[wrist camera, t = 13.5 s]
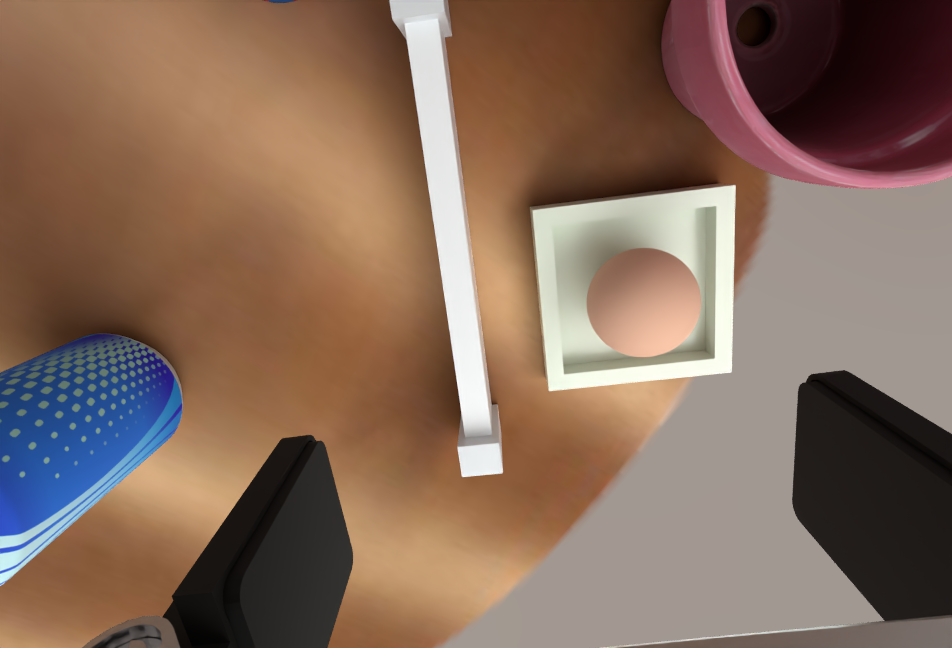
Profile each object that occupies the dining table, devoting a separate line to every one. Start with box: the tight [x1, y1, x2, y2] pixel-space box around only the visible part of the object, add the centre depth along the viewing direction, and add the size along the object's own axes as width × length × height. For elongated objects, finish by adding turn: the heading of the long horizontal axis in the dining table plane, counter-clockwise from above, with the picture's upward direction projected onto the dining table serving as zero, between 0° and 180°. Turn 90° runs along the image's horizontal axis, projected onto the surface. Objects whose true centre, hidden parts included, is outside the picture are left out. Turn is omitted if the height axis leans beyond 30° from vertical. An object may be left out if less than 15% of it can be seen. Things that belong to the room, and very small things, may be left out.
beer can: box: [0, 334, 183, 586], centre depth 28 cm, size 8×8×16 cm
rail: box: [389, 0, 503, 477], centre depth 29 cm, size 26×2×5 cm, turn 7°
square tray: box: [530, 183, 736, 391], centre depth 31 cm, size 11×11×2 cm
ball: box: [587, 248, 701, 357], centre depth 29 cm, size 6×6×6 cm
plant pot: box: [661, 0, 952, 189], centre depth 22 cm, size 14×14×13 cm
